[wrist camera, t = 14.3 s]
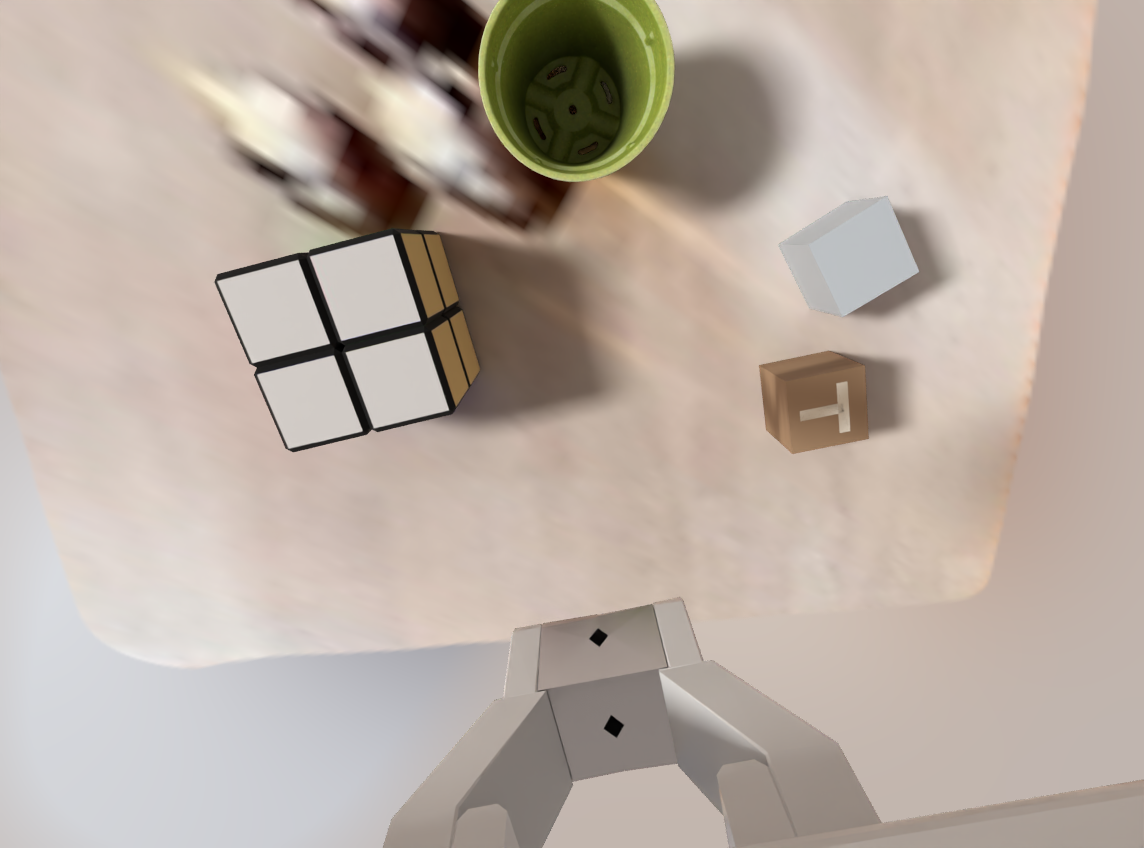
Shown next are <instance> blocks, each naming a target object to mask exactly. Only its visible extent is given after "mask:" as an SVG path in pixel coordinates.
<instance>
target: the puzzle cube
mask: <svg viewBox="0 0 1144 848" xmlns="http://www.w3.org/2000/svg"><path fill="white" fill-rule="evenodd" d="M215 285H216V287H217V289H218V291H219V294H220V296H221V298H222V301H223V303H224V305H225V308H226V310H227V312H228V315H229V317H230V319H231V322H232V324H233V326H234V329H235V331H236V333H237V336H238V338H239V340H240V343H241V345H242V347H243V350H244V352H245V354H246V357H247V359H248V361H249V363H250V364H251V365H253V366H255V367H257V369H256V372H255V374H254V376H255V378H256V381H257V383H258V385H259V388H260V390H261V392H262V395H263V397H264V399H265V402H266V404H267V406H268V408H269V411H270V413H271V415H272V418H273V420H274V422H275V425H276V427H277V429H278V432H279V434H280V436H281V439H282V441H283V443H284V446H285V448H286V449H288V450H290V451H292V452H297V451H301V450H305V449H309V448H313V447H317V446H322V445H326V444H330V443H334V442H338V441H342V440H347V439H351V438H355V437H359V436H363V435H367V434H368V433H369V432H370V431H371V430H372V429H373V430H375V431H376V432H380V431H384V430H388V429H392V428H396V427H401V426H405V425H409V424H413V423H417V422H421V421H426V420H430V419H434V418H438V417H442V416H446V415H451V414H453V412H454V411H455V409H456V408H457V406H458V405H459V403H460V401H461V400H462V398H463V397H464V395H465V394H466V392H467V391H468V389H469V388H470V386H471V385H472V383H473V381H474V380H475V378H476V377H477V375H478V373H479V372H480V367H479V364H478V361H477V357H476V354H475V351H474V348H473V344H472V341H471V338H470V334H469V331H468V328H467V325H466V321H465V318H464V315H463V311H462V309H460V308H458V307H455V306H456V305H457V303H458V301H459V298H458V295H457V291H456V288H455V285H454V282H453V278H452V275H451V272H450V268H449V265H448V262H447V259H446V255H445V252H444V249H443V245H442V242H441V239H440V236H439V234H437V233H435V232H434V231H423V230H406V229H394V228H392V229H388V230H384V231H380V232H377V233H373V234H369V235H365V236H361V237H357V238H354V239H350V240H346V241H342V242H338V243H335V244H331V245H327V246H323V247H319V248H316V249H312V250H310V251H309V253H297V254H293V255H289V256H285V257H281V258H278V259H274V260H270V261H266V262H262V263H259V264H255V265H251V266H247V267H243V268H239V269H236V270H232V271H228V272H224V273H220V274H217V277H216V279H215Z"/></svg>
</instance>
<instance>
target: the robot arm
mask: <svg viewBox="0 0 1144 848" xmlns="http://www.w3.org/2000/svg"><path fill="white" fill-rule="evenodd" d="M677 763H678V766H679V767H680V768H681V769H682V771H683V772H684V773H685V774H686V775H687V776H688V777H689V778H690V779H691V781H692V782H693V783H694V784H695V785H696V786H697V787H698V788H699V789H700V790H701V792H702V793H703V794H704V795H705V796H706V797H707V798H708V799H709V800H710V802H711V803H712V804H713V805H714V806H715V807H716V808H717V809H718V810H719V811H720V812H721V814H722V815H723V816H724V821H725V826H726V832H727V838H728V844H729V848H1144V780H1138V781H1132V782H1126V783H1120V784H1113V785H1107V786H1101V787H1096V788H1089V789H1083V790H1077V791H1071V792H1065V793H1059V794H1053V795H1047V796H1041V797H1035V798H1029V799H1023V800H1017V801H1011V802H1005V803H999V804H993V805H987V806H981V807H975V808H969V809H963V810H957V811H951V812H945V813H939V814H933V815H927V816H922V817H915V818H909V819H903V820H897V821H891V822H885V823H882V822H881V821H880V819H879V817H878V815H877V813H876V812H875V810H874V808H873V806H872V804H871V802H870V801H869V799H868V797H867V795H866V793H865V791H864V790H863V788H862V786H861V784H860V783H859V781H858V779H857V777H856V775H855V773H854V771H853V770H852V768H851V766H850V764H849V762H848V760H847V759H846V757H845V755H844V753H843V751H842V749H841V748H840V746H839V744H838V743H837V742H836V741H834V740H833V739H831V738H830V737H828V736H827V735H825V734H823V733H822V732H821V731H819V730H818V729H816V728H815V727H813V726H812V725H810V724H809V723H807V722H805V721H804V720H803V719H801V718H800V717H798V716H796V715H795V714H793V713H792V712H790V711H789V710H787V709H786V708H784V707H783V706H781V705H780V704H778V703H777V702H775V701H774V700H772V699H771V698H769V697H768V696H766V695H765V694H763V693H762V692H760V691H759V690H757V689H755V688H754V687H753V686H751V685H749V684H748V683H746V682H745V681H744V680H742V679H740V678H739V677H737V676H736V675H734V674H733V673H731V672H730V671H728V670H727V669H725V668H724V667H722V666H721V665H719V664H718V663H716V662H715V661H713V660H710V661H703V658H702V655H701V652H700V649H699V646H698V643H697V640H696V637H695V634H694V631H693V628H692V625H691V622H690V619H689V616H688V613H687V610H686V607H685V604H684V601H683V599H682V598H681V597H678V598H673V599H669V600H664V601H660V602H655V603H653V605H652V604H650V605H645V606H640V607H635V608H630V609H625V610H620V611H615V612H610V613H604V614H599V615H598V614H596V615H590V616H584V617H578V618H572V619H566V620H560V621H554V622H548V623H543V625H542V624H537V625H532V626H526V627H521V628H515V630H514V631H513V633H512V636H511V643H510V650H509V658H508V665H507V672H506V680H505V688H504V694H503V698H502V699H497V700H494V701H493V702H492V703H491V705H490V706H489V707H488V708H487V709H486V710H485V712H484V713H483V714H482V715H481V716H480V717H479V719H478V720H477V721H476V722H475V723H474V724H473V725H472V727H471V728H470V729H469V730H468V731H467V732H466V733H465V735H464V736H463V737H462V738H461V739H460V740H459V742H458V743H457V744H456V745H455V746H454V748H453V749H452V750H451V751H450V752H449V753H448V754H447V755H446V757H445V758H444V759H443V760H442V761H441V762H440V764H439V765H438V766H437V767H436V768H435V769H434V771H433V772H432V773H431V774H430V775H429V776H428V777H427V779H426V780H425V781H424V782H423V783H422V784H421V785H420V787H419V788H418V789H417V790H416V791H415V792H414V794H413V795H412V796H411V797H410V798H409V799H408V801H407V802H406V803H405V804H404V805H403V806H402V807H401V809H400V810H399V811H398V812H397V813H396V815H395V816H394V817H393V818H392V819H391V822H390V825H389V829H388V832H387V836H386V839H385V842H384V845H383V848H542V847H543V845H544V843H545V841H546V839H547V837H548V835H549V833H550V831H551V829H552V827H553V825H554V823H555V821H556V818H557V817H558V815H559V812H560V810H561V808H562V806H563V804H564V802H565V800H566V798H567V796H568V794H569V792H570V790H571V788H572V786H573V783H572V782H573V781H578V780H583V779H588V778H593V777H598V776H603V775H608V774H612V773H617V772H622V771H628V770H635V769H642V768H649V767H656V766H663V765H670V764H677Z"/></svg>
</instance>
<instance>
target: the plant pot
mask: <svg viewBox="0 0 1144 848" xmlns="http://www.w3.org/2000/svg"><path fill="white" fill-rule="evenodd" d="M560 66H566V67H567V71H566V72H562V73H560V74H558V75H556V76H554V77H552V78H550V79H549V80H548V79H547V76H548V74H549V73H550V72H551V71H552V70H554V69H555V68H557V67H560ZM478 73H479V86H480V92H481V97H482V101H483V105H484V108H485V111H486V114H487V116H488V119H489V121H490V123H491V125H492V127H493V129H494V131H495V133H496V134H497V136H498V137H499V139H500V140H501V142H502V143H503V144H504V146H505V147H506V148H507V149H508V150H509V151H510V152H511V153H512V155H513V156H514V157H516V158H517V159H518V160H519V161H520V162H522V163H523V164H524V165H526V166H527V167H529V168H530V169H532V170H533V171H535V172H537V173H539V174H542V175H544V176H547V177H549V178H553V179H556V180H562V181H569V182H581V181H590V180H594V179H598V178H602V177H604V176H607V175H609V174H612V173H614V172H616V171H618V170H619V169H621V168H622V167H624V166H625V165H627V164H628V163H630V162H631V161H632V160H633V159H634V158H636V157H637V156H638V155H639V154H640V153H641V152H642V151H643V150H644V149H645V148H646V146H647V145H648V144H649V143H650V141H651V140H652V139H653V137H654V136H655V134H656V133H657V131H658V129H659V127H660V126H661V124H662V122H663V119H664V117H665V115H666V112H667V110H668V107H669V104H670V100H671V96H672V91H673V86H674V74H675V61H674V50H673V45H672V40H671V36H670V33H669V30H668V27H667V24H666V21H665V19H664V17H663V14H662V12H661V10H660V8H659V7H658V5H657V3H656V2H655V0H499V1H498V3H497V4H496V6H495V7H494V9H493V11H492V13H491V15H490V17H489V20H488V22H487V24H486V27H485V30H484V33H483V37H482V41H481V46H480V52H479V68H478ZM601 82H605V83H606V84H607V86H608V88H609V90H610V92H611V94H612V103H611V104H608V101H607V98H606V94H605V92H604V90H603V88H602V86H601V84H600V83H601ZM572 105H574V106H575V107H576V109H577V113H576V114H574V115H572V114H570V111H569V107H570V106H572ZM535 117H536V118H538V120H539V124H540V127H541V129H542V131H543V133H544V135H545V136H546V138H545V140H544V139H541V138H540V135H539V133H538V131H537V130H536V129H535V127H534V122H533V120H534V118H535ZM594 142H598V146H597V147H596V149H595V150H593V151H590V152H588V153H587V154H583V155H580V154H578V150H580V149H583V148H586V147H588V146H590V145H591V144H592V143H594Z"/></svg>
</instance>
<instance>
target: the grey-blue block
mask: <svg viewBox="0 0 1144 848" xmlns="http://www.w3.org/2000/svg"><path fill="white" fill-rule="evenodd" d="M778 246H779V248H780V250H781V252H782V254H783V256H784V258H785V260H786V262H787V264H788V266H789V268H790V270H791V272H792V275H793V277H794V279H795V281H796V283H797V285H798V287H799V289H800V291H801V293H802V295H803V297H804V299H805V301H806V303H807V305H808V307H809V308H810V309H814V310H818V311H821V312H825V313H829V314H833V315H836V316H840V317H844V316H846V315H847V314H849V313H851V312H852V311H854V310H856V309H857V308H859V307H861V306H863V305H864V304H866V303H868V302H869V301H871V300H873V299H874V298H876V297H878V296H879V295H881V294H883V293H884V292H886V291H888V290H890V289H891V288H893V287H895V286H896V285H898V284H900V283H901V282H903V281H905V280H906V279H908V278H910V277H912V276H913V275H915V274H917V273H918V272H919V270H918V267H917V265H916V263H915V260H914V258H913V256H912V253H911V251H910V248H909V246H908V244H907V241H906V239H905V237H904V234H903V232H902V230H901V227H900V225H899V222H898V220H897V218H896V215H895V213H894V211H893V208H892V206H891V204H890V201H889V199H888V197H887V196H883V197H876V198H869V199H862V200H855V201H848V202H845V203H843V204H842V205H840V206H839V207H837V208H835V209H834V210H832V211H831V212H829V213H827V214H826V215H824V216H823V217H821V218H819V219H818V220H816V221H815V222H813V223H811V224H810V225H808V226H807V227H805V228H803V229H802V230H800V231H799V232H797V233H795V234H794V235H792V236H791V237H789V238H787V239H786V240H784V241H783V242H781V243H779V244H778Z"/></svg>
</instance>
